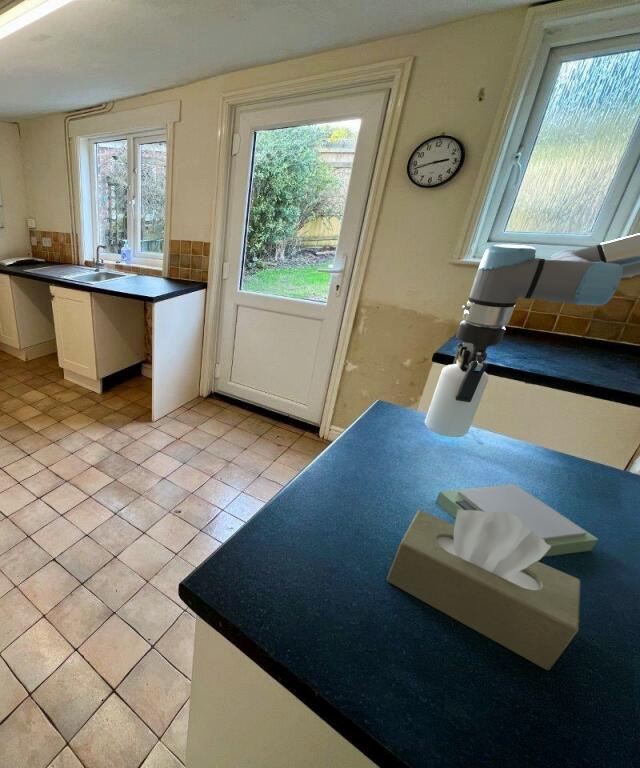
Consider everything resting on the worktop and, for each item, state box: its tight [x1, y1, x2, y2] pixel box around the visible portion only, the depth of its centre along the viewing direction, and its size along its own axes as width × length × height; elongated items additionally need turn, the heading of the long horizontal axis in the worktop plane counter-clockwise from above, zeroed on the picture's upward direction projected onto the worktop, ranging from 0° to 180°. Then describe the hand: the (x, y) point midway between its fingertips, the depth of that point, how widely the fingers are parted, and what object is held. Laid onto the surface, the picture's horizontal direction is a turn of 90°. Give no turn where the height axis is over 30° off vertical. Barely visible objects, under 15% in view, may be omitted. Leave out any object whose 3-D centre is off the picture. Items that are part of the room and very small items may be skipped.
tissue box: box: [386, 508, 582, 671], centre depth 56 cm, size 19×10×16 cm, turn 44°
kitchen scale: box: [434, 483, 599, 558], centre depth 72 cm, size 16×14×3 cm
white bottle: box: [424, 356, 489, 438], centre depth 93 cm, size 8×8×18 cm
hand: (447, 420), depth 96 cm, fingers open, 2 cm apart
